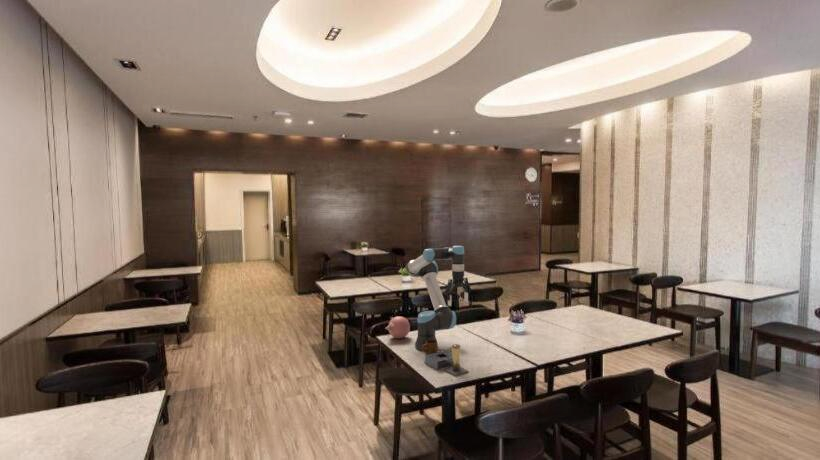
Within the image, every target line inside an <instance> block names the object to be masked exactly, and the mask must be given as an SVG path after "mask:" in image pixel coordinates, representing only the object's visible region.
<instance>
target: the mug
mask: <svg viewBox="0 0 820 460" xmlns="http://www.w3.org/2000/svg"><path fill="white" fill-rule="evenodd" d="M436 340H437V339H436ZM436 340H426V342H425V344H423V345H422V351H421V352H423V353H425V355H428V354H432V353H436V352H438V348H439V344H438V345H437V343H438V340H437V341H436ZM424 347H425V349H424ZM425 355H424V356H425Z"/></svg>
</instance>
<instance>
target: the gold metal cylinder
mask: <svg viewBox="0 0 820 460" xmlns="http://www.w3.org/2000/svg"><path fill="white" fill-rule="evenodd" d="M451 352H452V366H451V367H452V370H453V371H460V367H461V345H460V344H458V343H456V344H455V343H454V344H452V345H451Z"/></svg>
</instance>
